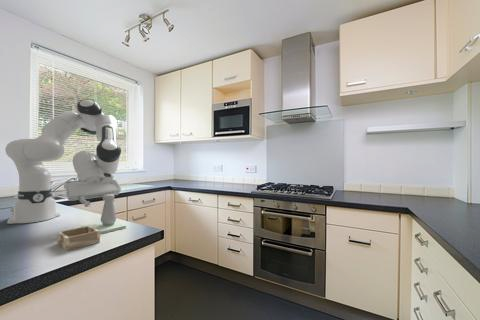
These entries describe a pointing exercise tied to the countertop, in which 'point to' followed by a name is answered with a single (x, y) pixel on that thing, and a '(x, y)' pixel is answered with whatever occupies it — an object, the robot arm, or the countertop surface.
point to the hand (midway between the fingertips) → (100, 204)
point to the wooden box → (78, 237)
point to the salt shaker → (108, 211)
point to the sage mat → (106, 227)
